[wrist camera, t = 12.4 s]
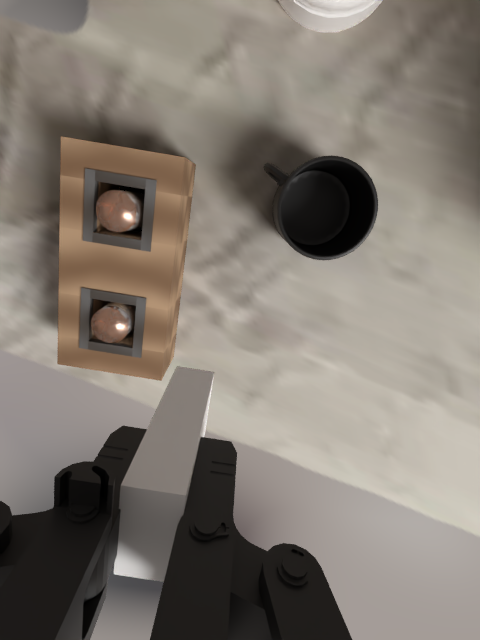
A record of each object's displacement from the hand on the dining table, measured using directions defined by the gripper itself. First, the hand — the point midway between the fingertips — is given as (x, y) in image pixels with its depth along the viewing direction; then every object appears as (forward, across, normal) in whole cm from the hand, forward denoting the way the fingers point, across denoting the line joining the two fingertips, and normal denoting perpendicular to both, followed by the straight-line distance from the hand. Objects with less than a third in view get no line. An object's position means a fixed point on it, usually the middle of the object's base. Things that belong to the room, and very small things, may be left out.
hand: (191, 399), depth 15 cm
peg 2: (+32, -12, -7) cm, 35 cm away
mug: (+33, +7, +9) cm, 35 cm away
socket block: (+32, -12, -1) cm, 35 cm away
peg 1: (+32, -12, +5) cm, 34 cm away
